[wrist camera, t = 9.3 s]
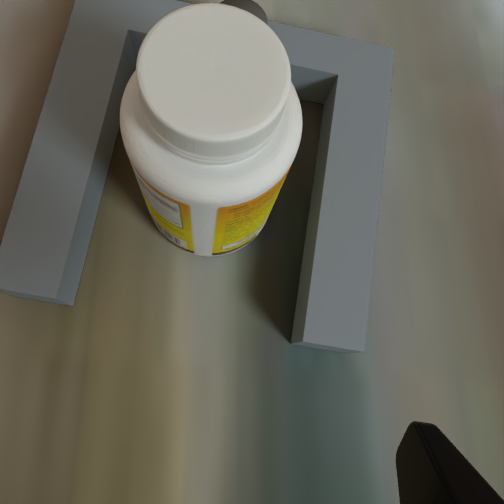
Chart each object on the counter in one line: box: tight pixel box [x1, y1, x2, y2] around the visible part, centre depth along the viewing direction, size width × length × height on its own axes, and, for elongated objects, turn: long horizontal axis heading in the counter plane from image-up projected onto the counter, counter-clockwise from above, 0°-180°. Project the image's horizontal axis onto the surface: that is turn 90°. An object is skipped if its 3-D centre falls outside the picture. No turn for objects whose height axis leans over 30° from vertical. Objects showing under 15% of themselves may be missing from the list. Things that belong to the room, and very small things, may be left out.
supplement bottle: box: [120, 3, 302, 256], centre depth 17 cm, size 6×6×10 cm
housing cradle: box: [0, 0, 395, 353], centre depth 20 cm, size 14×14×3 cm
